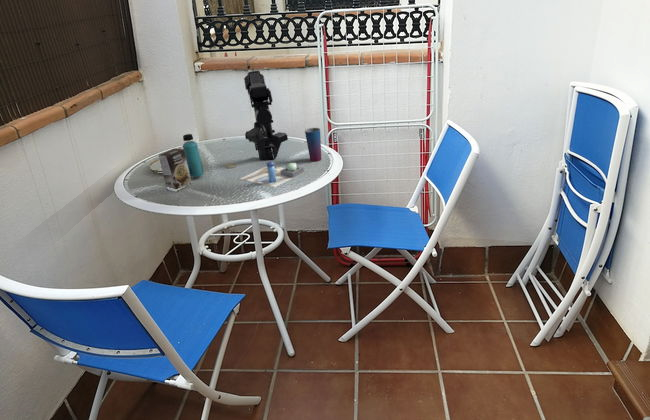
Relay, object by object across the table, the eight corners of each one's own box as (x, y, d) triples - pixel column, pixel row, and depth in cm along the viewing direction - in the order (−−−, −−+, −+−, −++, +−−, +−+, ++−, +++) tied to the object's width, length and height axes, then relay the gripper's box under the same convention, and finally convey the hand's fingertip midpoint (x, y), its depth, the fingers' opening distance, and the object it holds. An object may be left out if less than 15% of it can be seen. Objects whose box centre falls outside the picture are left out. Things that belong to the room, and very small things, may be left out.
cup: (321, 164, 217) (318, 131, 210) (307, 164, 218) (303, 132, 212) (324, 159, 223) (321, 127, 216) (310, 159, 224) (306, 128, 218)
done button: (285, 171, 207) (284, 165, 205) (292, 168, 209) (291, 162, 208) (292, 173, 204) (291, 166, 203) (298, 170, 207) (298, 163, 206)
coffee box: (177, 192, 203) (167, 156, 197) (166, 190, 207) (157, 154, 200) (192, 184, 210) (184, 149, 203) (182, 182, 214) (174, 147, 207)
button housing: (281, 175, 207) (280, 170, 206) (292, 169, 212) (291, 165, 211) (293, 177, 203) (292, 173, 202) (304, 171, 207) (303, 167, 207)
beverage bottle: (207, 175, 219) (198, 132, 210) (199, 180, 213) (189, 137, 205) (195, 174, 221) (185, 132, 213) (187, 180, 215) (176, 137, 207)
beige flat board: (237, 181, 208) (236, 179, 208) (269, 166, 222) (269, 163, 221) (275, 190, 194) (275, 188, 194) (307, 173, 208) (307, 171, 207)
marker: (267, 182, 201) (264, 163, 197) (272, 179, 203) (270, 161, 199) (273, 183, 199) (270, 164, 195) (278, 180, 201) (275, 162, 197)
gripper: (231, 122, 190) (238, 159, 196) (265, 126, 178) (271, 166, 185) (252, 114, 197) (258, 151, 204) (285, 118, 186) (291, 157, 193)
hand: (269, 156), depth 196 cm, fingers open, 7 cm apart
